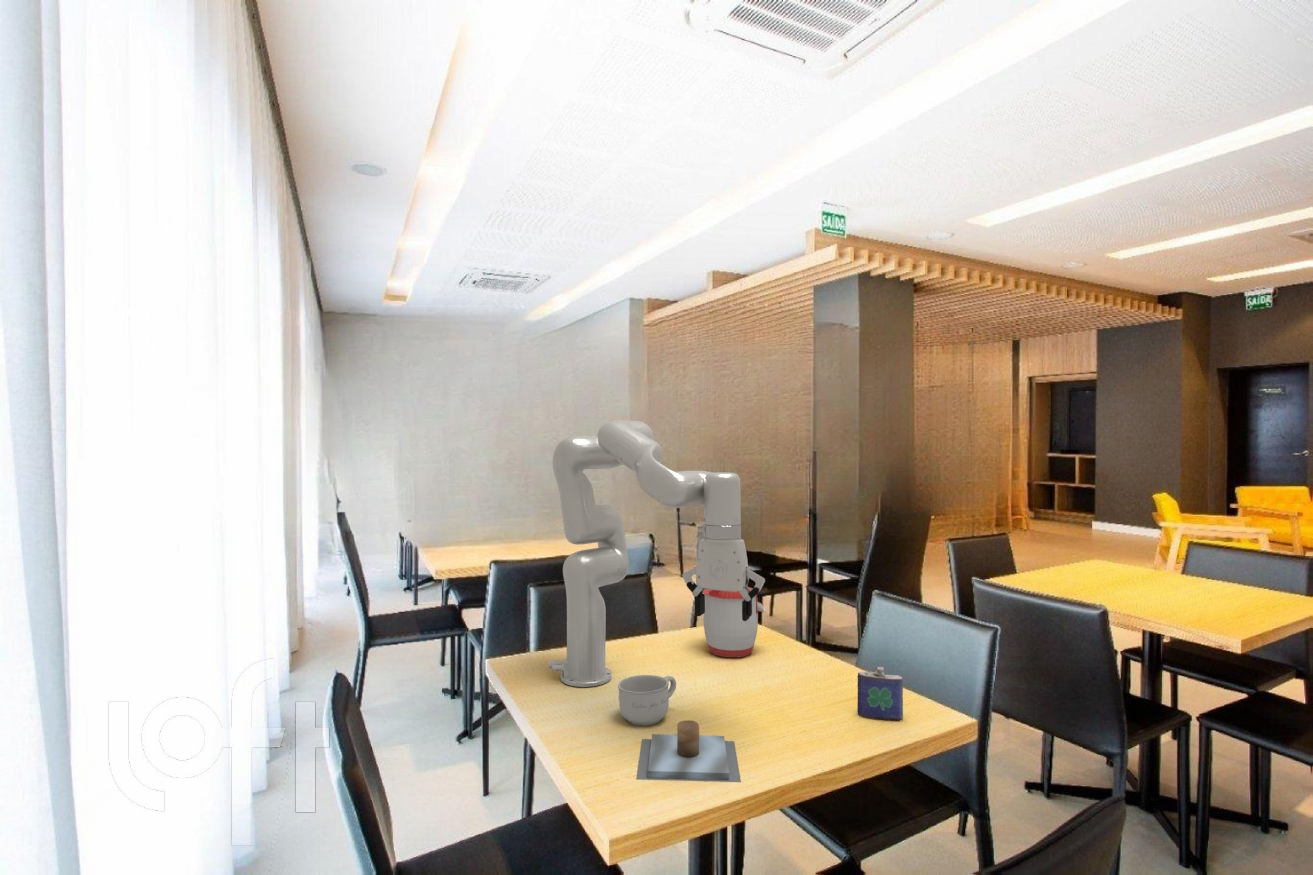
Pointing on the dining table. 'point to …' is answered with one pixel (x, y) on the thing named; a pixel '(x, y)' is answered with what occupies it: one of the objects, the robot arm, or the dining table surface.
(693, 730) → the lid
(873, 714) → the flask
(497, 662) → the dining table surface
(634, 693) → the teacup
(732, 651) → the citrus juicer
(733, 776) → the tray
